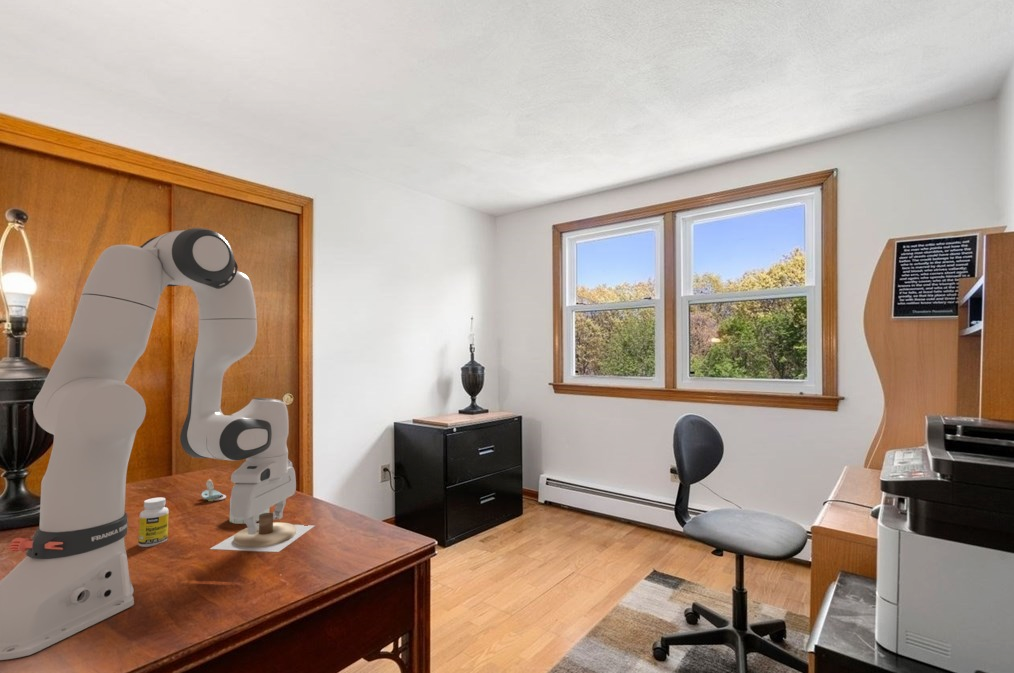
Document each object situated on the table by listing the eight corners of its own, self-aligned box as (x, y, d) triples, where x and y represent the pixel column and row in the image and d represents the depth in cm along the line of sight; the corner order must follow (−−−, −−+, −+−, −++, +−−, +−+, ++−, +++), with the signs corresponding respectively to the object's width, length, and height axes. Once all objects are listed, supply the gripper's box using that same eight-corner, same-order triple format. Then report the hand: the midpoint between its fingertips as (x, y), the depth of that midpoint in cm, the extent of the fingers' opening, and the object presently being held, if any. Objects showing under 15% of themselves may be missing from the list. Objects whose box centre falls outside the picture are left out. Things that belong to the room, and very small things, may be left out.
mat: (278, 554, 102) (278, 551, 102) (209, 551, 104) (209, 548, 104) (315, 527, 118) (315, 525, 118) (254, 525, 120) (254, 523, 120)
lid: (276, 548, 104) (276, 525, 104) (220, 546, 105) (221, 523, 106) (306, 527, 117) (306, 507, 117) (256, 525, 118) (256, 505, 118)
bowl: (255, 526, 119) (255, 501, 120) (221, 524, 120) (222, 500, 120) (276, 514, 128) (276, 491, 129) (244, 513, 129) (245, 490, 129)
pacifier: (222, 495, 146) (199, 498, 142) (223, 474, 147) (201, 477, 143) (229, 500, 141) (205, 504, 137) (230, 479, 142) (207, 482, 137)
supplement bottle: (142, 549, 105) (144, 504, 105) (134, 543, 108) (136, 500, 108) (171, 542, 109) (172, 499, 109) (163, 536, 112) (164, 494, 113)
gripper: (279, 456, 122) (278, 511, 122) (225, 477, 102) (223, 542, 102) (303, 457, 122) (301, 511, 121) (253, 477, 102) (251, 543, 101)
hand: (265, 526), depth 111 cm, fingers open, 8 cm apart
